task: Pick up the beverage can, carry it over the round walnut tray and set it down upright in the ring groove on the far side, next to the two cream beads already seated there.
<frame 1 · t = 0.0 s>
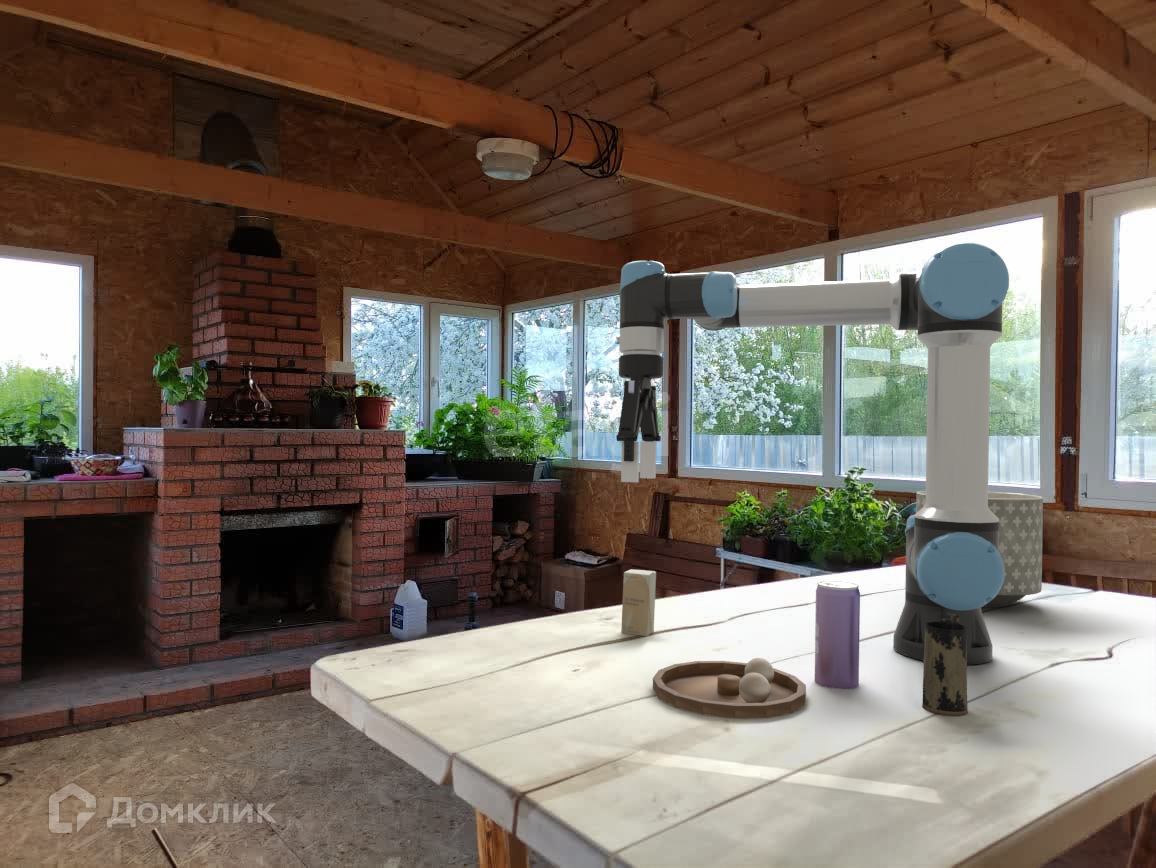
hand: (639, 480, 139), 28 cm above the table, fingers open, 13 cm apart
box: (638, 633, 148), on the table
bead b: (759, 687, 113), point 1 cm above the table, touching tray
bead a: (754, 704, 106), point 1 cm above the table, touching tray
beverage can: (836, 690, 116), on the table
planter: (976, 603, 181), on the table
mug: (946, 708, 109), on the table
tray: (728, 699, 111), on the table
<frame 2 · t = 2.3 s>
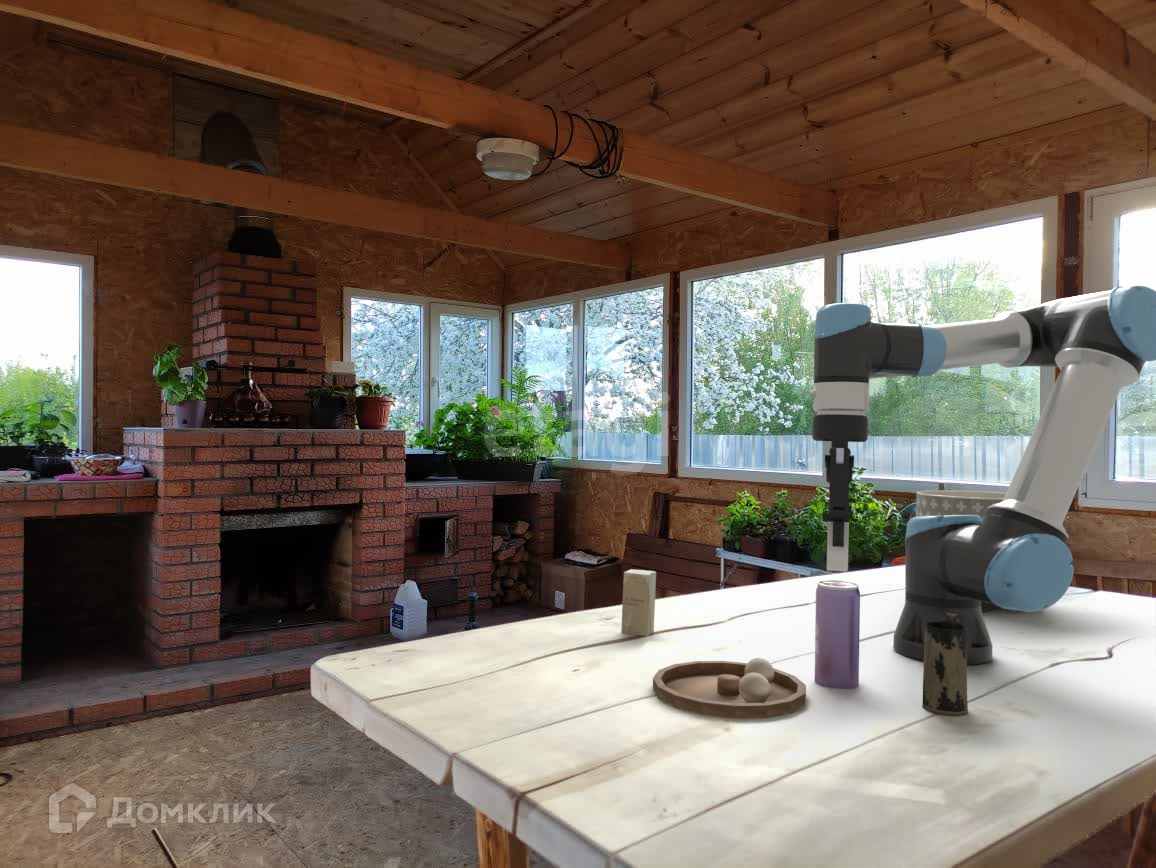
hand: (836, 563, 116), 18 cm above the table, fingers open, 13 cm apart
nothing on the table moved.
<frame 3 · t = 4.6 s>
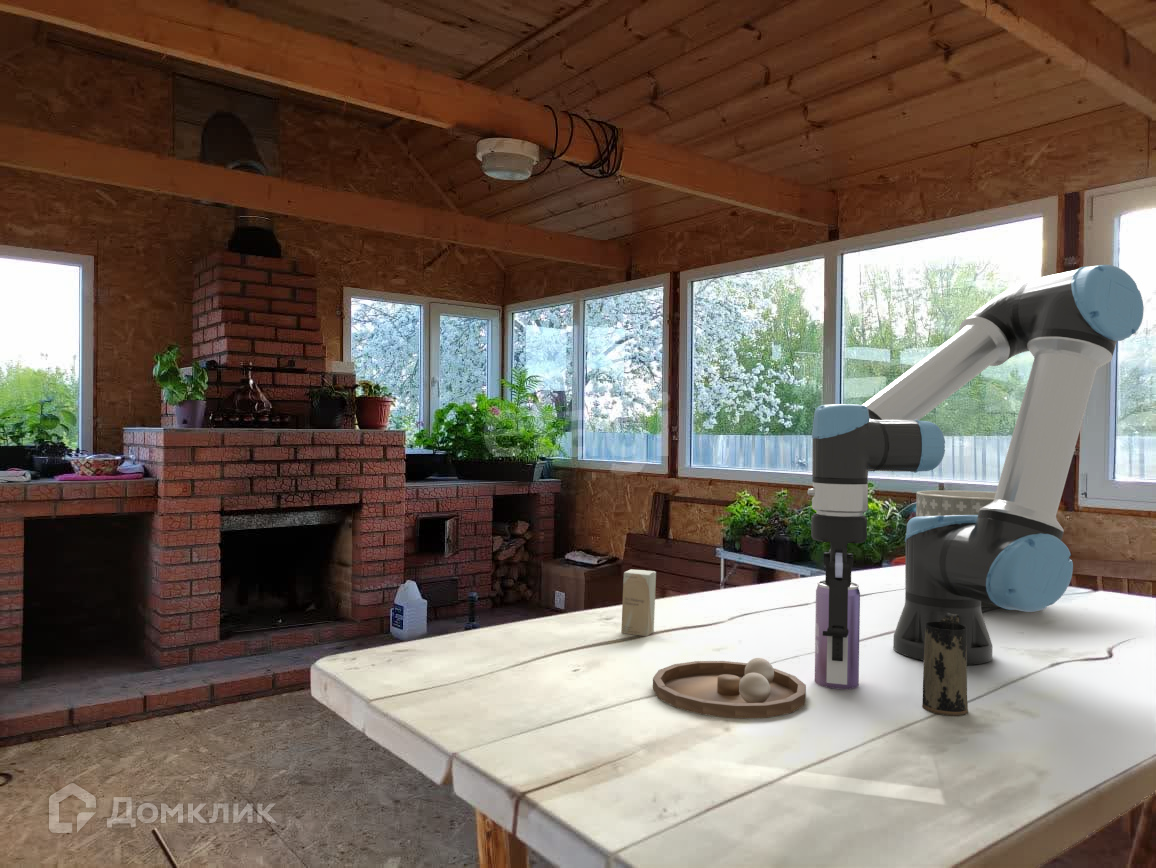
hand: (836, 675, 116), 2 cm above the table, fingers closed on beverage can, 6 cm apart
beverage can: (836, 690, 116), on the table, touching gripper
everything else where it was.
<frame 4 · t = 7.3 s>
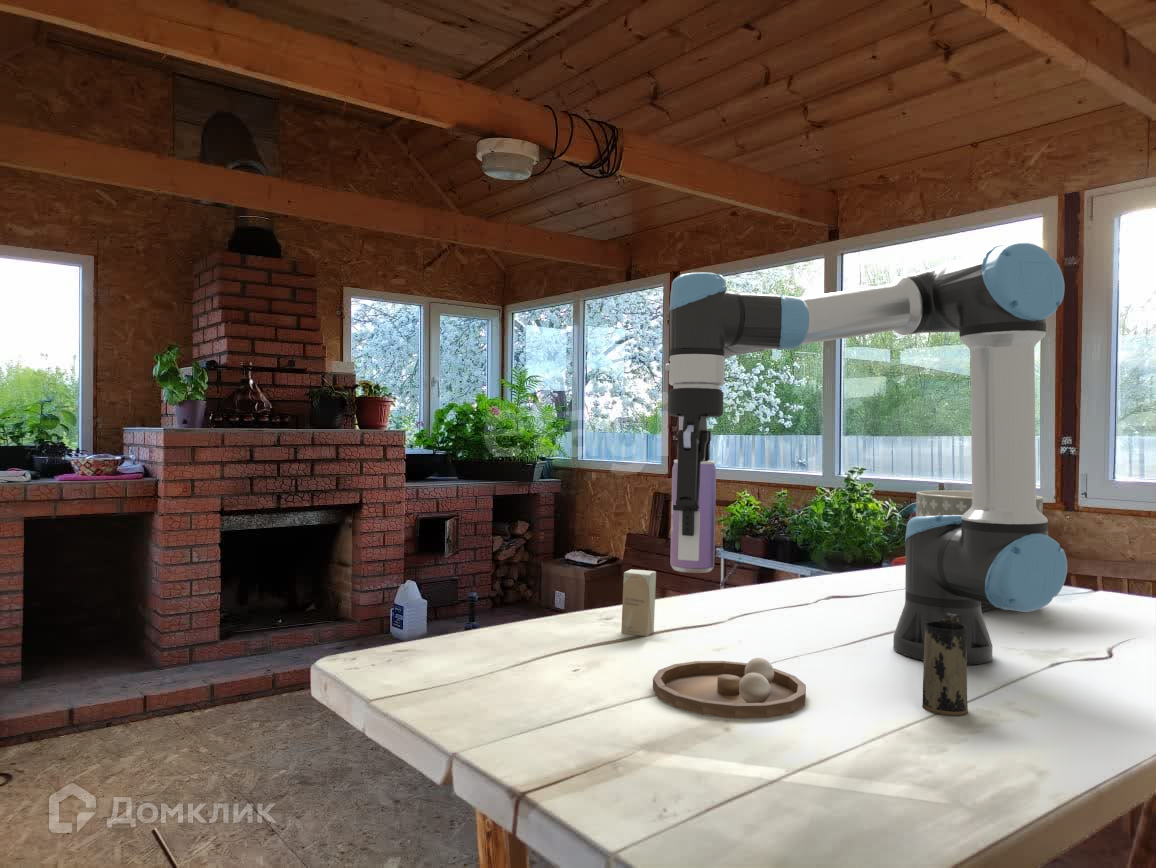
hand: (692, 556, 113), 19 cm above the table, fingers closed on beverage can, 6 cm apart
beverage can: (692, 571, 113), point 17 cm above the table, touching gripper
everything else where it was.
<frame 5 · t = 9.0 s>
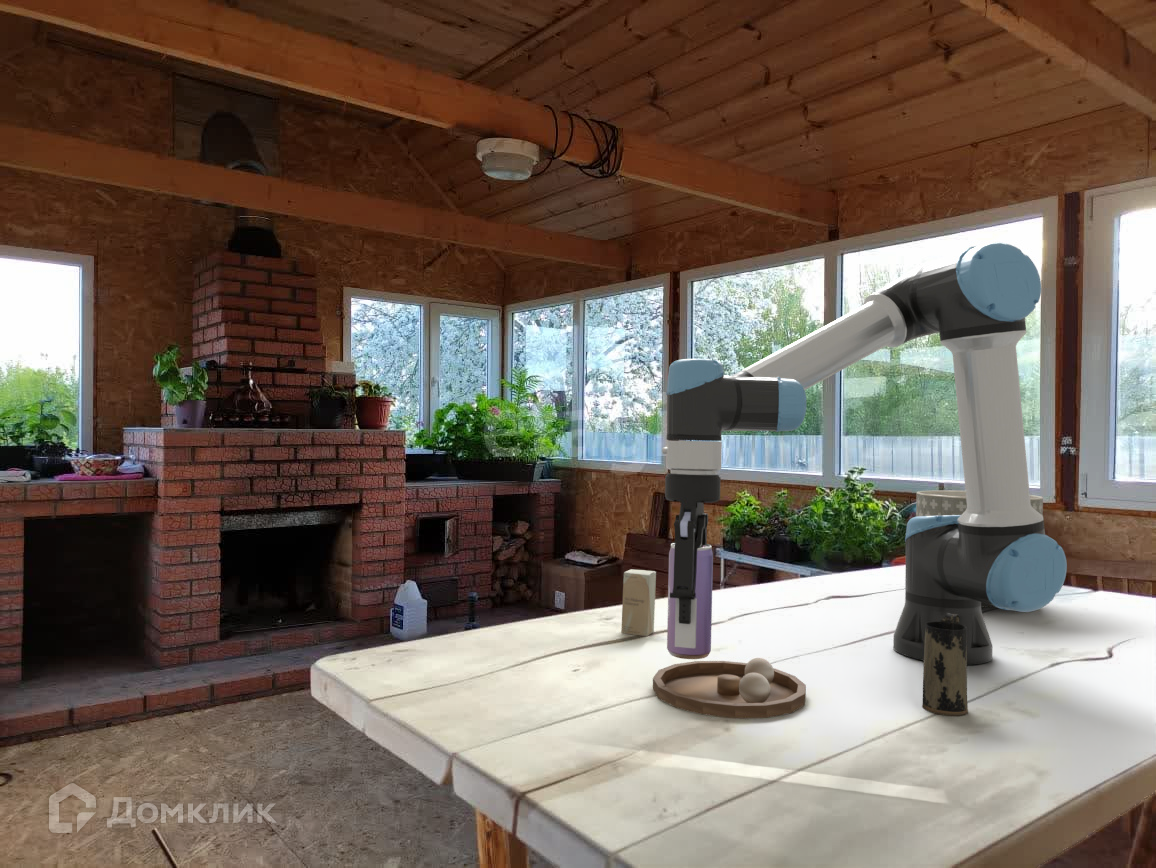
hand: (689, 640, 112), 8 cm above the table, fingers closed on beverage can, 6 cm apart
beverage can: (688, 655, 112), point 5 cm above the table, touching gripper
everything else where it was.
when the fingers open (4 cm above the table, at t = 10.3 s): beverage can drops 1 cm, resting on tray.
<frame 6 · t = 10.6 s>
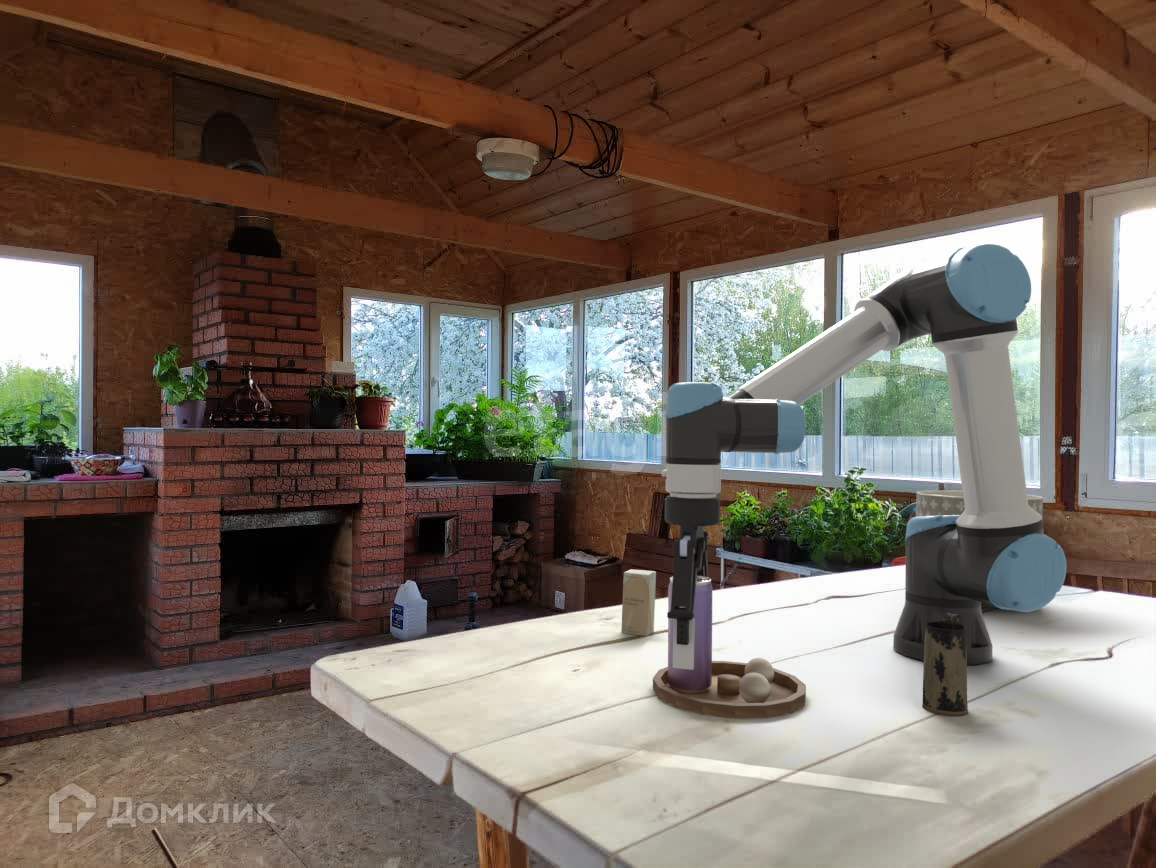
hand: (689, 657, 112), 5 cm above the table, fingers open, 10 cm apart
beverage can: (689, 689, 113), point 1 cm above the table, touching tray
everything else where it was.
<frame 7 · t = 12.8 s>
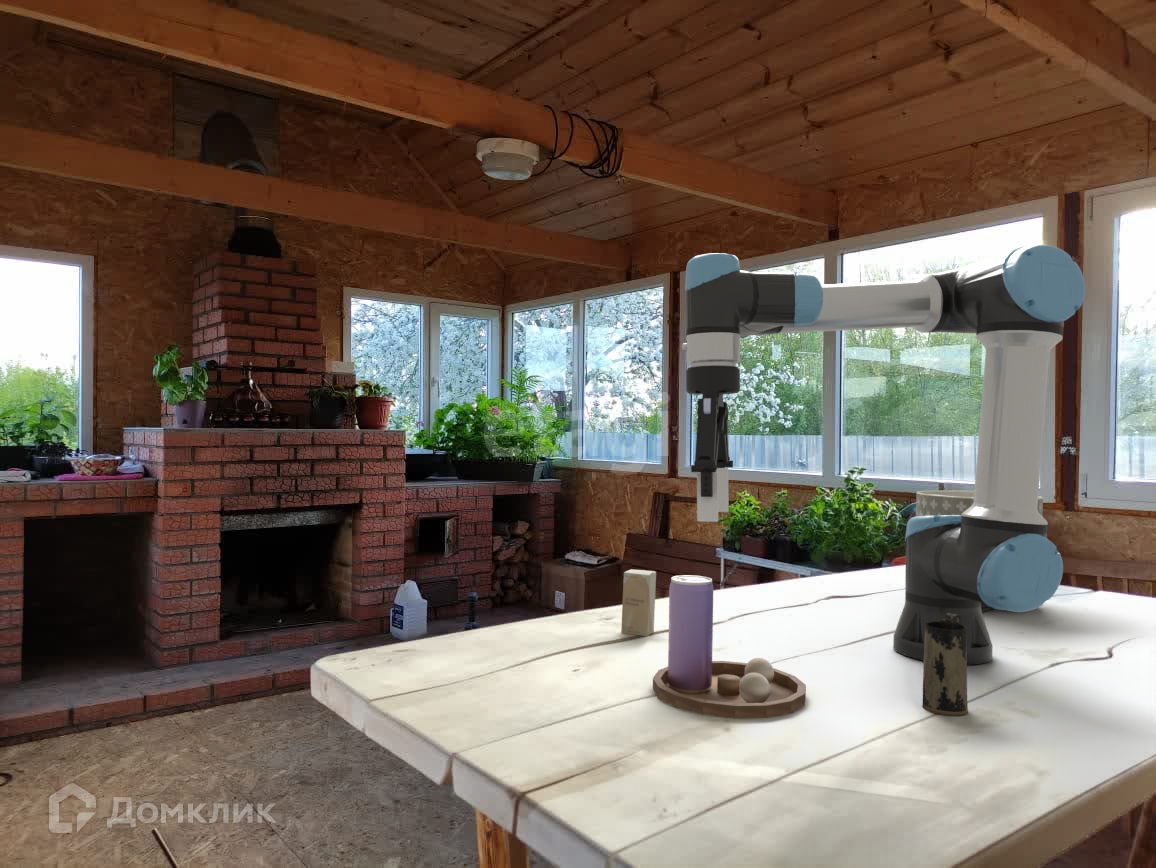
hand: (713, 516, 116), 24 cm above the table, fingers open, 13 cm apart
nothing on the table moved.
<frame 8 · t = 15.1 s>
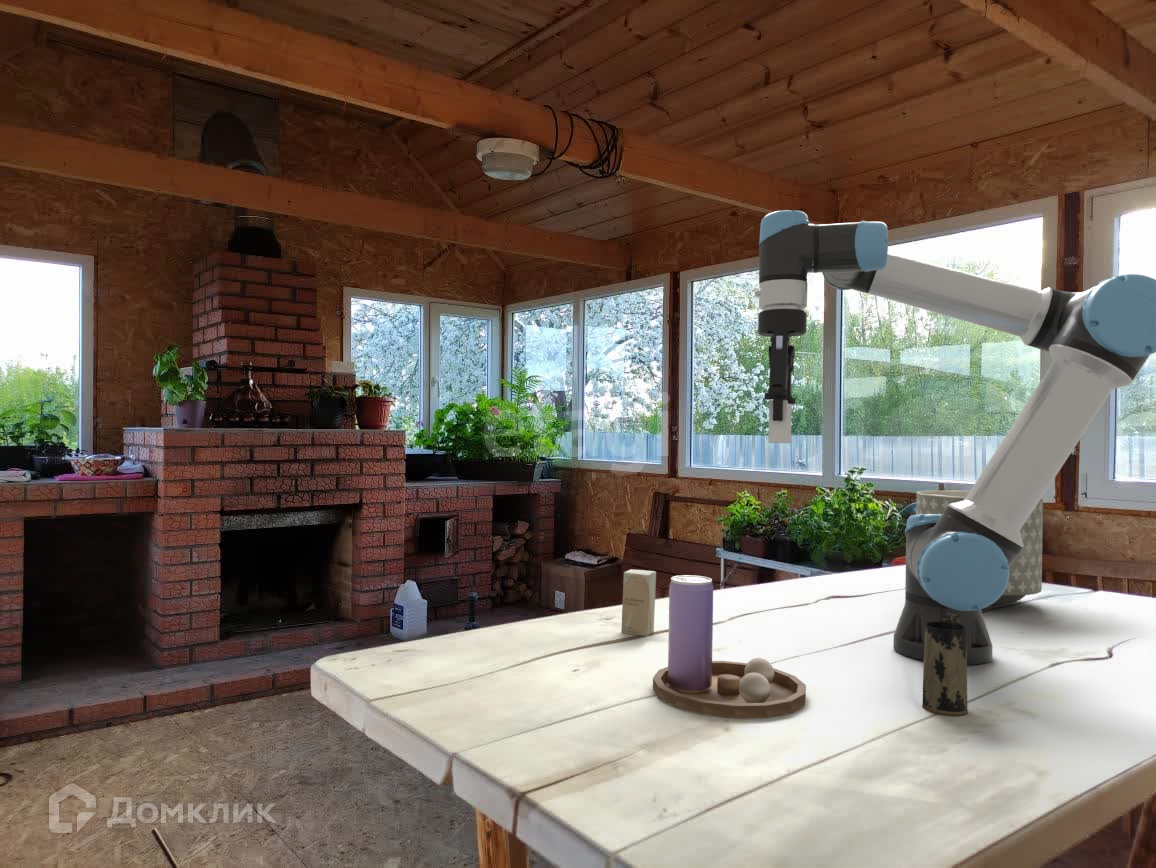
hand: (780, 443, 132), 35 cm above the table, fingers open, 13 cm apart
nothing on the table moved.
at the end: beverage can 0.2 cm from the target spot on the tray, point 0.8 cm above the tray's base; beverage can tilted 0°; the gripper is holding nothing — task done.
